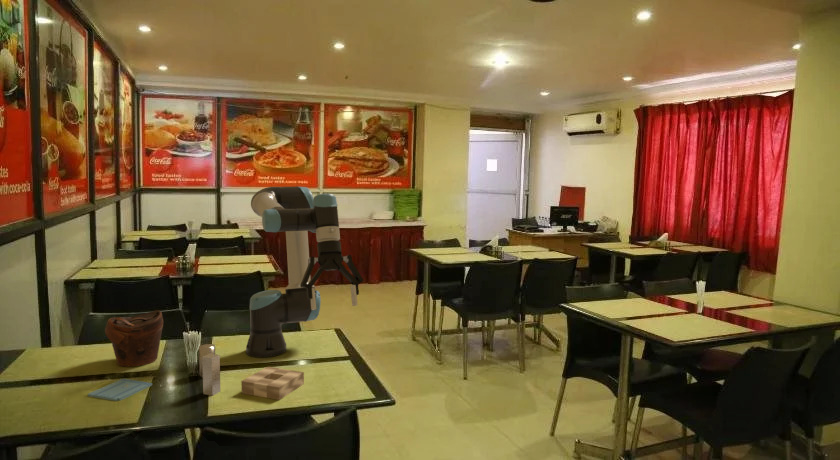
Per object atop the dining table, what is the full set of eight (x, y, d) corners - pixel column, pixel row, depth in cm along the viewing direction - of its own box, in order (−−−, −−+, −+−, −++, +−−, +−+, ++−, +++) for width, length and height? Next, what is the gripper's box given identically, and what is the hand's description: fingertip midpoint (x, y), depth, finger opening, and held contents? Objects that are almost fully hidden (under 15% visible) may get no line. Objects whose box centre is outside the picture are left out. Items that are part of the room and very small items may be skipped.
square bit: (211, 389, 177) (210, 353, 176) (220, 391, 176) (219, 354, 175) (203, 393, 174) (202, 356, 172) (212, 395, 172) (211, 358, 171)
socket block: (268, 377, 188) (267, 366, 187) (303, 383, 183) (303, 372, 182) (241, 393, 175) (241, 381, 174) (279, 400, 170) (279, 387, 169)
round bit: (206, 371, 193) (206, 343, 192) (219, 373, 192) (218, 345, 191) (196, 376, 188) (195, 347, 187) (208, 378, 187) (207, 349, 186)
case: (93, 366, 196) (92, 317, 194) (140, 350, 215) (139, 304, 213) (131, 374, 190) (130, 323, 188) (175, 356, 208) (175, 310, 206)
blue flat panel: (118, 403, 167) (118, 398, 167) (87, 397, 171) (87, 393, 171) (152, 386, 180) (152, 382, 180) (123, 381, 184) (123, 378, 184)
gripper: (293, 240, 169) (299, 310, 165) (368, 238, 181) (375, 303, 177) (287, 245, 175) (292, 312, 171) (360, 242, 187) (366, 305, 183)
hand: (334, 307), depth 174 cm, fingers open, 13 cm apart
